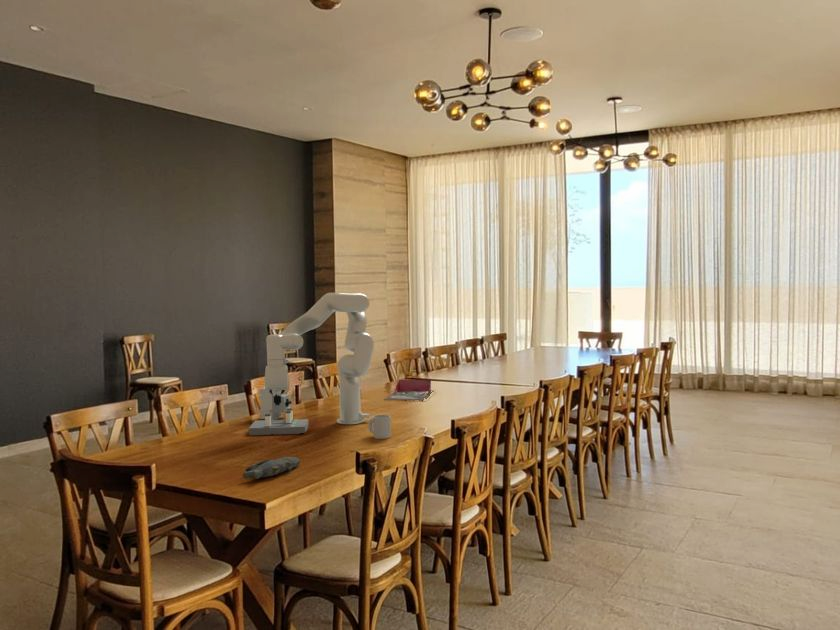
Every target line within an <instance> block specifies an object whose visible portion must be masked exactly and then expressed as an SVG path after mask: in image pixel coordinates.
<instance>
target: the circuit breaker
mask: <svg viewBox="0 0 840 630" xmlns="http://www.w3.org/2000/svg"><path fill="white" fill-rule="evenodd" d="M278 393H279V389H276V394H277V396H278ZM258 398H260V406H261V407H260V409H259V420H260V419H261V420H262V419H265V414H266V413H271V420H279V419H281V418H282V417H283V414H282V413H285V411H286V410H287V408H291V404H292V401H291V394H290V393H283V394H282V395H281V403H280V405H275V403H274V396H273V395H272V394H271V393H270V392H265V386H263V387H262V386H261V387H260V388H259V392H258ZM276 417H277V418H276ZM280 417H281V418H280Z"/></svg>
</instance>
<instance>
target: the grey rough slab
mask: <svg viewBox="0 0 840 630" xmlns="http://www.w3.org/2000/svg"><path fill="white" fill-rule="evenodd" d="M300 463H301V459H300V458H298V457H296V456H295V457H294V456H283V457H279V458H275V459H264V460H261V461H258V462H254V463H252V464H251V465H249V466H247V467H246V468H245V469H244V470H245V472H243V474H242V477H243V478H244V479H245V480H246V479H256V480H257V479H260V478H269V477H274V476H276V475H279V474H281V473H283V472H286V471H291V470H292V469H293V468H296V467H297V466H299V465H300Z"/></svg>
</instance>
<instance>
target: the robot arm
mask: <svg viewBox="0 0 840 630" xmlns="http://www.w3.org/2000/svg"><path fill="white" fill-rule="evenodd" d="M369 307H370V299H369V298H368V296H367V295H366V294H364V293H345V292H327V293H325V294H324V295H323V296H321V298H320V299H319V300H317V301H316V303H314V304H313V306H311V308H310V309H308V311H307V312H305V313H304V314H302V315H301V316H299V317H297V318H295V320H293V321H292V322H290V323H289V324H288V325H287V326H286V327H285V328H284V329H283V330H282V331H281V332H280V333H277V334H276V333H274V334H269V335H267V336H266V339H265V340H266V363H267V365H266V366H265V371H264V387H265V392H270V393H271V394H272V395H273V396H274V403H275V405H280V403H281V395H282V394H285V393H286V392H289V391H290V375H289V368H288V365H287V364H289V359H286V354H285V352H286V351H297V350H300V349H301V348H302V347H303V345H304V339H303V336H302V335H303V334H305V333H307V332H309V331H311V330H315V329H317V328H319V327H320V326H322V325H323V324H324V322H325V321H326V320H328V318H330V316H332V314H333V313H335V312H337V313H338V312H339V313H346V315H347V318H348V322H347V329H346V335H345V339H344V347H345V349H346V350H347V351H348V352H351V353H353V354H344V355H342V356H341V357H339V359H338V361H337V367H336V368H337V372H338V378H339V379H338V380H339V416H340V417H339V418H337V420H336V423H337V424H340V425H356V424H357V425H358V424H363V423H364V422H365V419H371V414H370V413H363V412H362V410H361V409H362V407H361V380H360V378H361V377H364V376H366V375H367V373H368V372H369V370H370V367H371V364H372V359H373V353H374V346H375V343H374V338H373V336H371V334H369V333H367V332H366V331H367V324H368V319H367V315H366V311H367V310H368V309H369ZM276 389H279V393H278V396H277V394H276Z"/></svg>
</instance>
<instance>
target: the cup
mask: <svg viewBox="0 0 840 630" xmlns="http://www.w3.org/2000/svg"><path fill="white" fill-rule="evenodd" d="M391 426H392V425H391V415H389V414H376V415H375V414H374V415H373V416H372V417H370V418H369V421H368V430H369V432H370V433H371V434H372V435H373V438H374V439H375V440H386V439H390V438H391V434H392V431H391V430H392V429H391Z"/></svg>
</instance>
